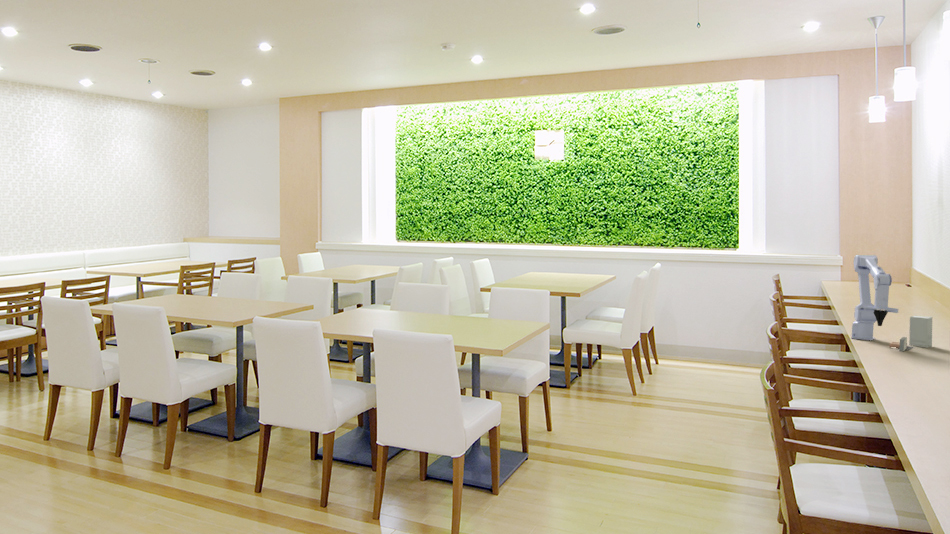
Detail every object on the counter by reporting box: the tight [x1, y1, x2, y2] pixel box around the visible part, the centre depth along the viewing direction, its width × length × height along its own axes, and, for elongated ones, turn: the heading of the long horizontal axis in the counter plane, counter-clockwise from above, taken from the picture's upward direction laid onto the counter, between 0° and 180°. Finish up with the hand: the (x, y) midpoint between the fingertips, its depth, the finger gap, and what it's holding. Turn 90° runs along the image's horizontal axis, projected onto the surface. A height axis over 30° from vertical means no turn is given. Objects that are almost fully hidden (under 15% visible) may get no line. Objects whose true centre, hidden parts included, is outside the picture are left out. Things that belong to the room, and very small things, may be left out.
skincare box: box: [908, 315, 933, 349], centre depth 332 cm, size 8×6×15 cm
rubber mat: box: [897, 345, 914, 351], centre depth 328 cm, size 8×10×1 cm
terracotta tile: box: [889, 341, 900, 348], centre depth 329 cm, size 2×6×6 cm
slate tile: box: [898, 336, 908, 353], centre depth 321 cm, size 2×6×6 cm, turn 136°
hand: (879, 325), depth 330 cm, fingers closed
